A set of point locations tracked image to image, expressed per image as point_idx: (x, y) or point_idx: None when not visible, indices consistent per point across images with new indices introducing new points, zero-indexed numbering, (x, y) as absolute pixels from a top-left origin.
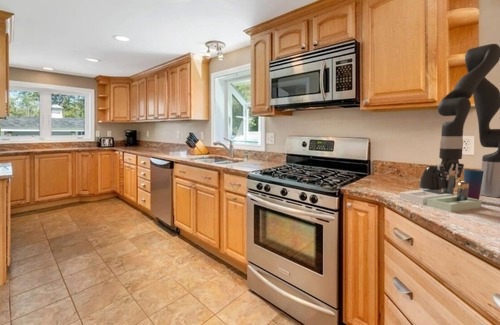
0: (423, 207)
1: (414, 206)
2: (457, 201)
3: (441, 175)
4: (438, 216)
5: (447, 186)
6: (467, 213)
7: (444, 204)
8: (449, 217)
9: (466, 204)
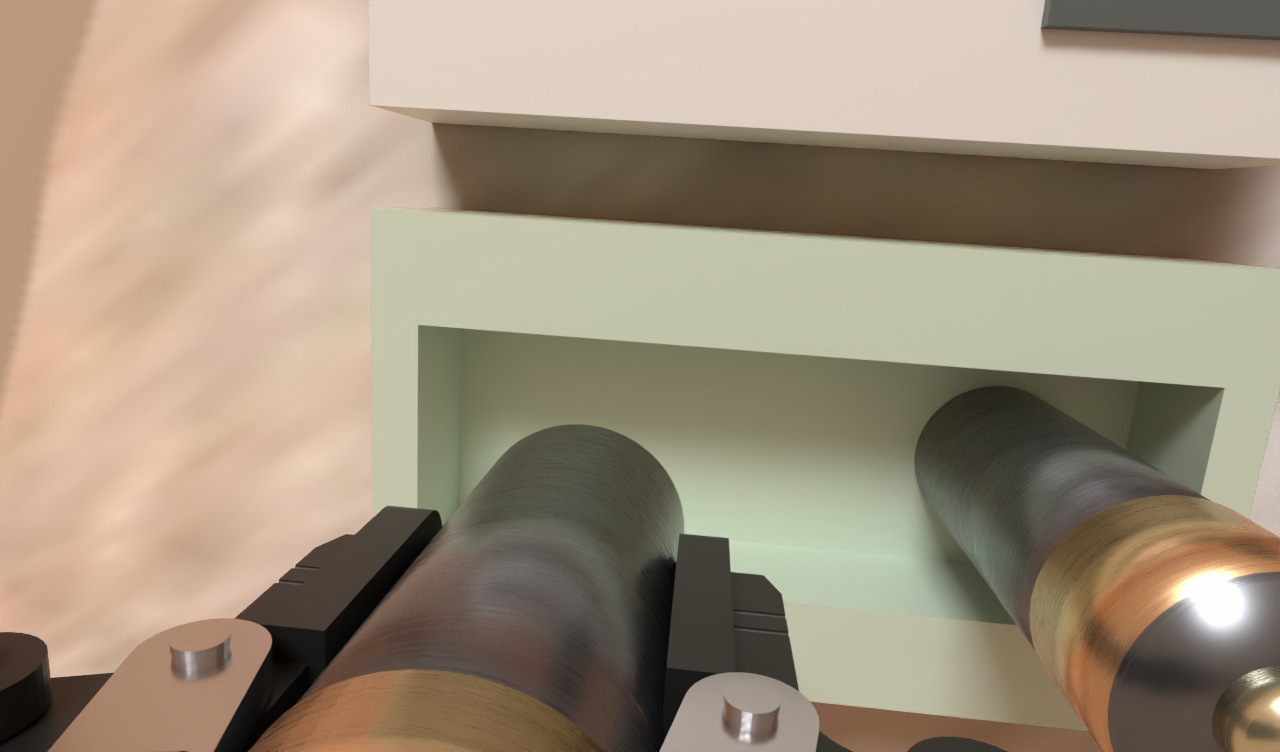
0: (353, 199)
1: (267, 86)
2: (945, 443)
3: (73, 730)
4: (155, 581)
5: None
6: None
7: None
8: None
9: None
